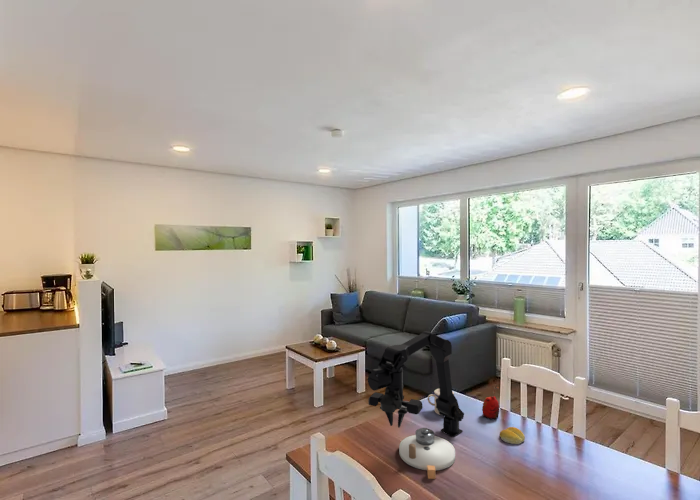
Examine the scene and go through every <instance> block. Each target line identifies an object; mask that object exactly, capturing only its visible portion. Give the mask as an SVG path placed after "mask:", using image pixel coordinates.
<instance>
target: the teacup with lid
mask: <svg viewBox="0 0 700 500" xmlns="http://www.w3.org/2000/svg"><path fill="white" fill-rule="evenodd" d="M452 392H453V395H454V396H455V392H454V390H452ZM439 395H440V389H439V388H436V389H435V390H434V391H433V393H432V394H428V396H427V401H428V404H429V405H431V406H432V407H433V406H434V412H435V413H436V414H437V415H440V414H439V411H438V409H437V408H436V401H435V400H436V399H437V398H438V397H439ZM431 397H433V398H434V402H431V400H430V398H431ZM440 416H441V415H440Z"/></svg>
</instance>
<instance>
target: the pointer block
mask: <svg viewBox="0 0 700 500" xmlns="http://www.w3.org/2000/svg"><path fill="white" fill-rule="evenodd" d="M426 472H427V473H426V474H427V479H428V480H436V479H437V478H436V470H435V466H430V465H427V470H426Z"/></svg>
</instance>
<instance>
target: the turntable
mask: <svg viewBox="0 0 700 500" xmlns="http://www.w3.org/2000/svg"><path fill="white" fill-rule="evenodd" d="M434 438H435V442H434V444H432V445H421V444H419V443H417V442H416V434H414V435H413V434H412V435H410V436H406V437H405V438H403V439H402V440H401V442H400V443H399V447H398V448H399V449H398V450H399V452H398V453H399V456H400V459H401V460H403V462H404V463H405V464H407V465H408V466H411V467H413V468H415V469H419V470H423V471H427V465H430V466H435V471H441V470H445V469H448V468H449V467H451V466H452V465H453V464H454V463H455V461H456V449H455V447H454V446H453V444H452V443H451V442H450V441H448V440H447V439H444V438H442V437H439V436H436V435H434Z"/></svg>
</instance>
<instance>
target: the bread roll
mask: <svg viewBox="0 0 700 500" xmlns="http://www.w3.org/2000/svg"><path fill="white" fill-rule="evenodd" d="M499 437H500V439H501V440H502V441H503V442H504V443H507V444H513V445H519V444H521V443H524V442H525V440H526V438H525V437H526V436H525V434H524V433H523V432H522V430H520V429H519V428H518V427H514V426H509V427H506V428H505V429H502V430H501V431H500V432H499Z"/></svg>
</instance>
